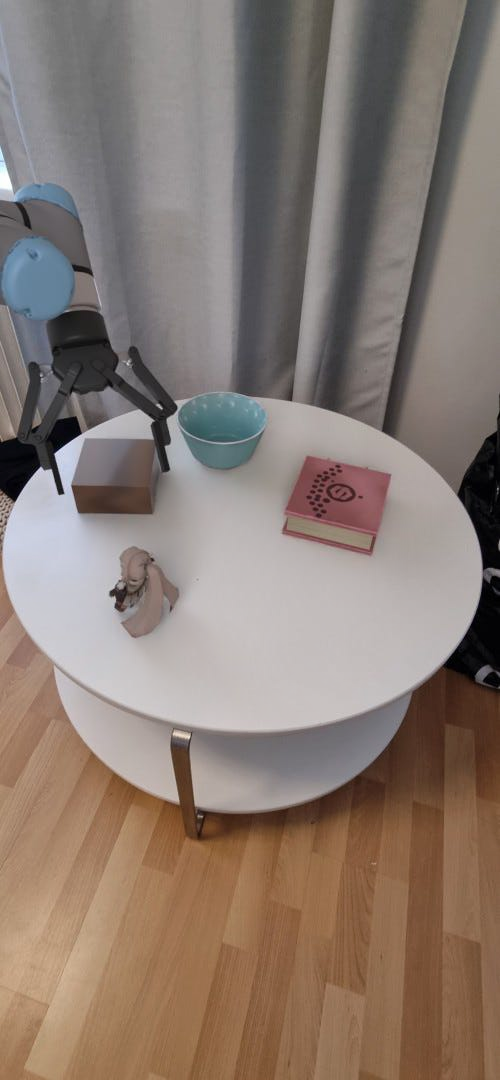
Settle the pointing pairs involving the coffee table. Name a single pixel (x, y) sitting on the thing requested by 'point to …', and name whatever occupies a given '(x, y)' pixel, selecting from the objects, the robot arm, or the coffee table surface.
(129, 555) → the toy
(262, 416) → the bowl
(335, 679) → the coffee table surface
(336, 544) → the book
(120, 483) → the walnut block
